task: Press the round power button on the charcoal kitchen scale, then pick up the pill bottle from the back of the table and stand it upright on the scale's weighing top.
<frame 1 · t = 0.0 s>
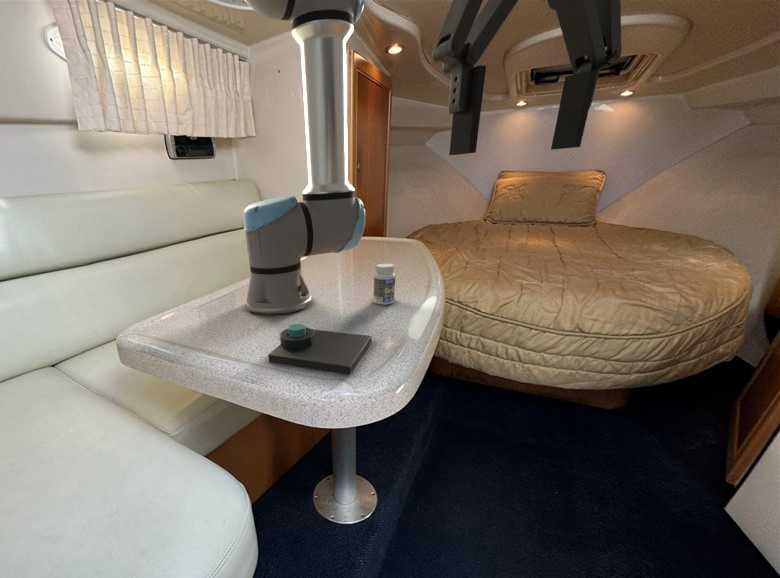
hand: (516, 151, 37), 28 cm above the table, tool pointing down, fingers open, 13 cm apart
pill bottle: (383, 302, 84), on the table
scale: (322, 352, 62), on the table
power button: (296, 331, 62), point 3 cm above the table, slide at 0.1 cm
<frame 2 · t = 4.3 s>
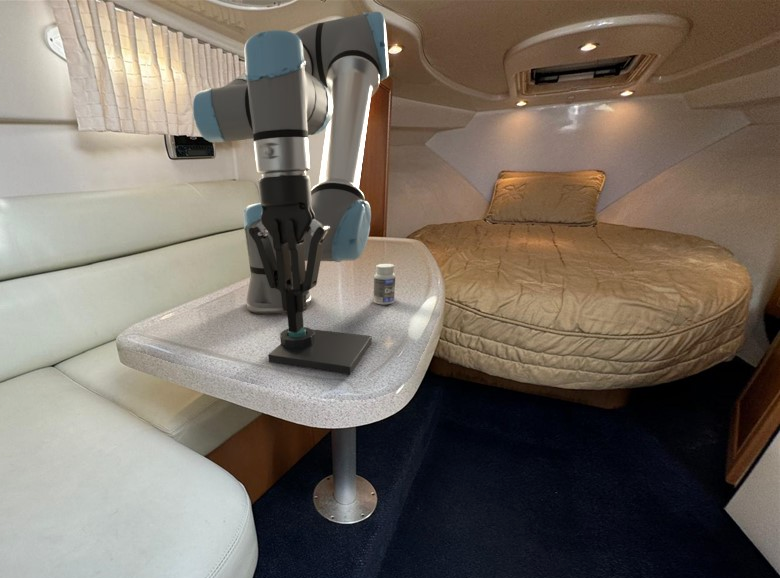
hand: (296, 328, 62), 4 cm above the table, tool pointing down, fingers closed
power button: (297, 334, 62), point 3 cm above the table, slide at -0.4 cm, touching gripper
everything else where it was.
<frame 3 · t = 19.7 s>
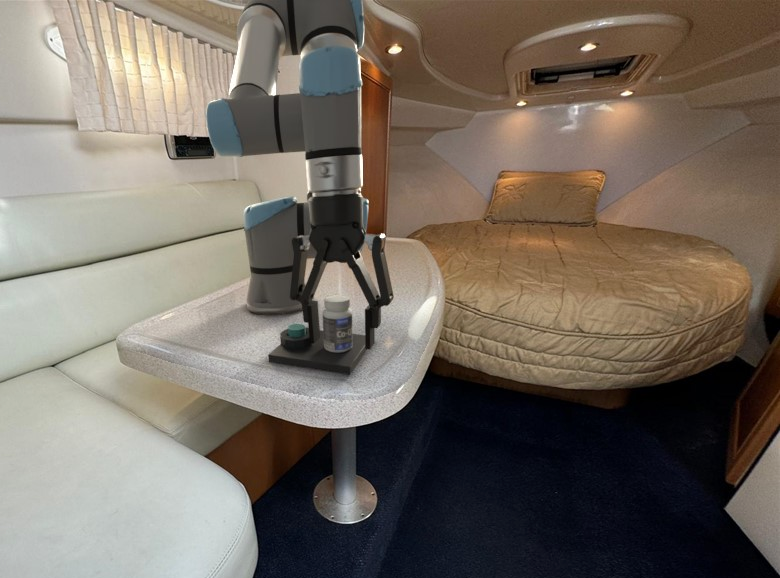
hand: (341, 342, 59), 2 cm above the table, tool pointing down, fingers open, 9 cm apart
pill bottle: (338, 348, 60), point 1 cm above the table, touching scale
power button: (296, 331, 62), point 3 cm above the table, slide at 0.1 cm
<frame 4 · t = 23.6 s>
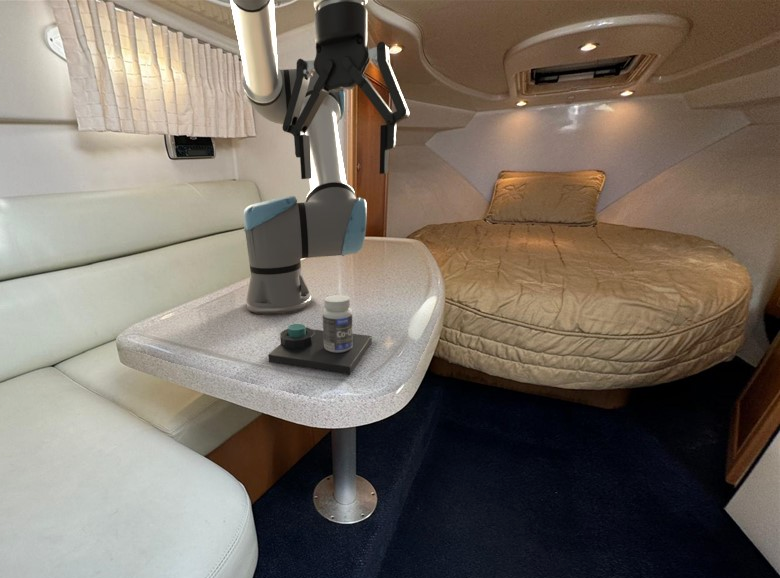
hand: (343, 176, 61), 27 cm above the table, tool pointing down, fingers open, 13 cm apart
nothing on the table moved.
at the end: power button pushed in 0.8 cm at the most during the clip, back to where it started at the end; pill bottle inside the target area on the scale (3.0 cm from its centre), point 1.2 cm above the scale's base; pill bottle touching scale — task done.
